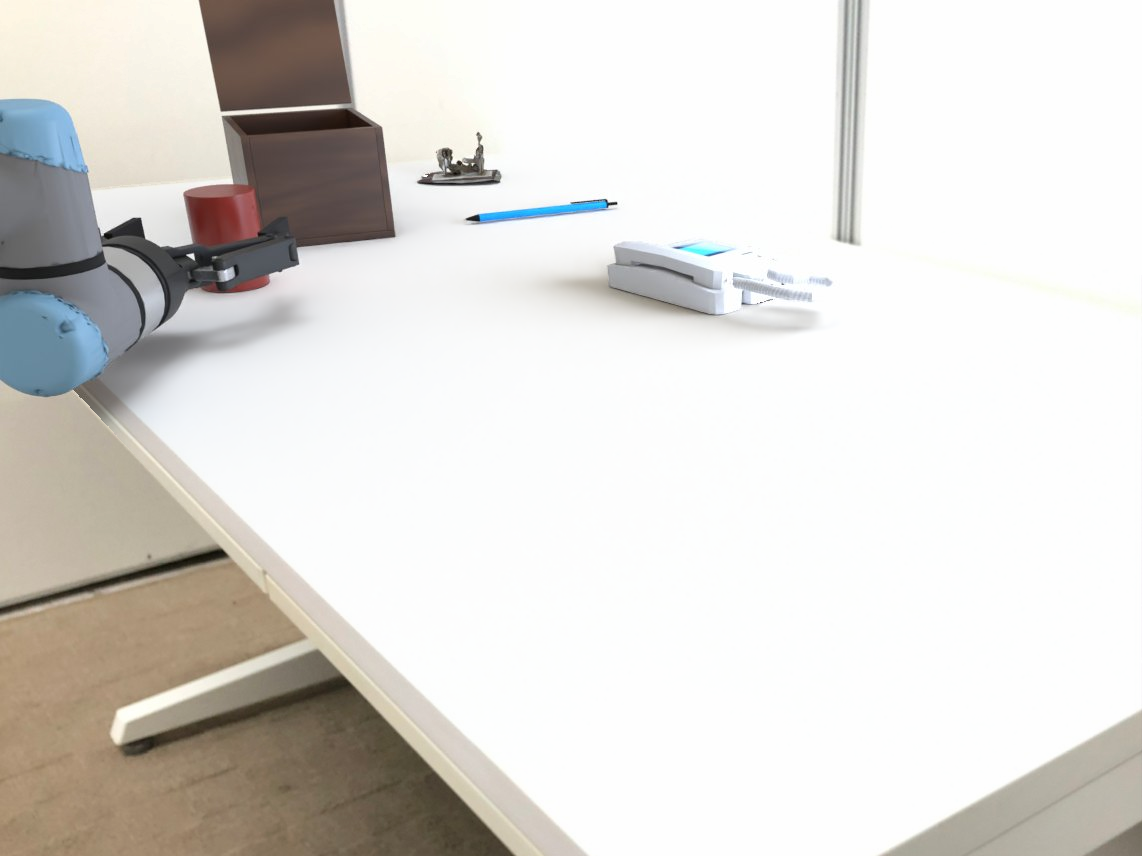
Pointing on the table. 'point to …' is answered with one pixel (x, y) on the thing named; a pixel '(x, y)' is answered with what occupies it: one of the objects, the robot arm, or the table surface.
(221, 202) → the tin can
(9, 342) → the robot arm
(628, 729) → the table surface
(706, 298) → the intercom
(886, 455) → the table surface
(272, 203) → the box
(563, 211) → the pen
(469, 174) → the pewter figure scene
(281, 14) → the box lid
